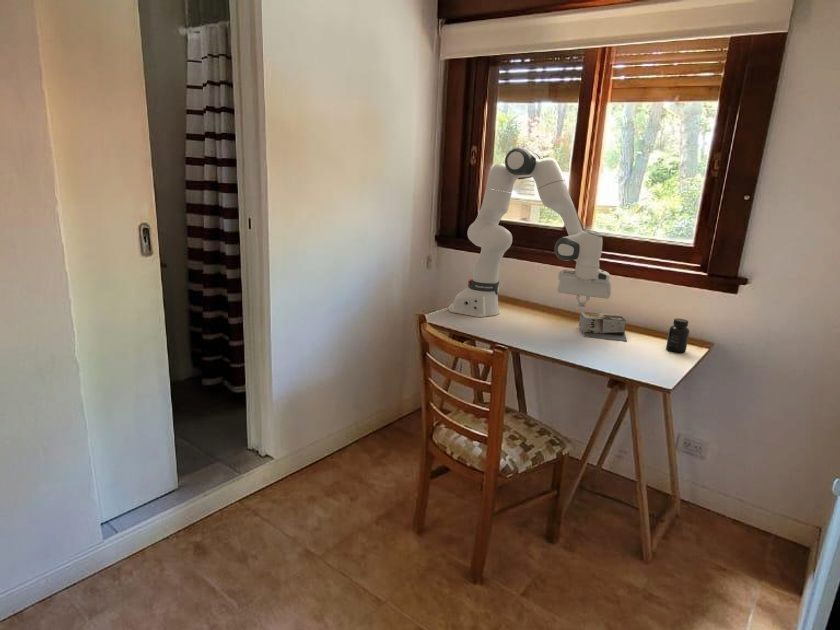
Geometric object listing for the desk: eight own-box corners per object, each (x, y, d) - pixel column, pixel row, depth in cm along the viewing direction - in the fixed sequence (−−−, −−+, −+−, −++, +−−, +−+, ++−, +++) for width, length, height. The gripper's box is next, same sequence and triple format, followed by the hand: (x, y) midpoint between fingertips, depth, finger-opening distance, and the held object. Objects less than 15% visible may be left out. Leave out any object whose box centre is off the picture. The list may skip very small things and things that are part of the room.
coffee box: (582, 333, 219) (624, 335, 217) (584, 317, 217) (626, 320, 216) (578, 326, 227) (618, 329, 226) (580, 311, 226) (620, 314, 224)
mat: (583, 336, 216) (584, 335, 216) (583, 327, 228) (583, 325, 228) (626, 341, 212) (626, 340, 212) (624, 331, 224) (624, 330, 224)
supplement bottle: (689, 353, 202) (695, 323, 199) (672, 354, 201) (678, 323, 198) (678, 347, 209) (684, 317, 205) (661, 347, 208) (667, 317, 204)
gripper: (559, 270, 215) (554, 304, 219) (613, 276, 210) (608, 311, 214) (559, 267, 221) (555, 301, 225) (613, 273, 216) (607, 307, 220)
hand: (581, 306), depth 219 cm, fingers closed
